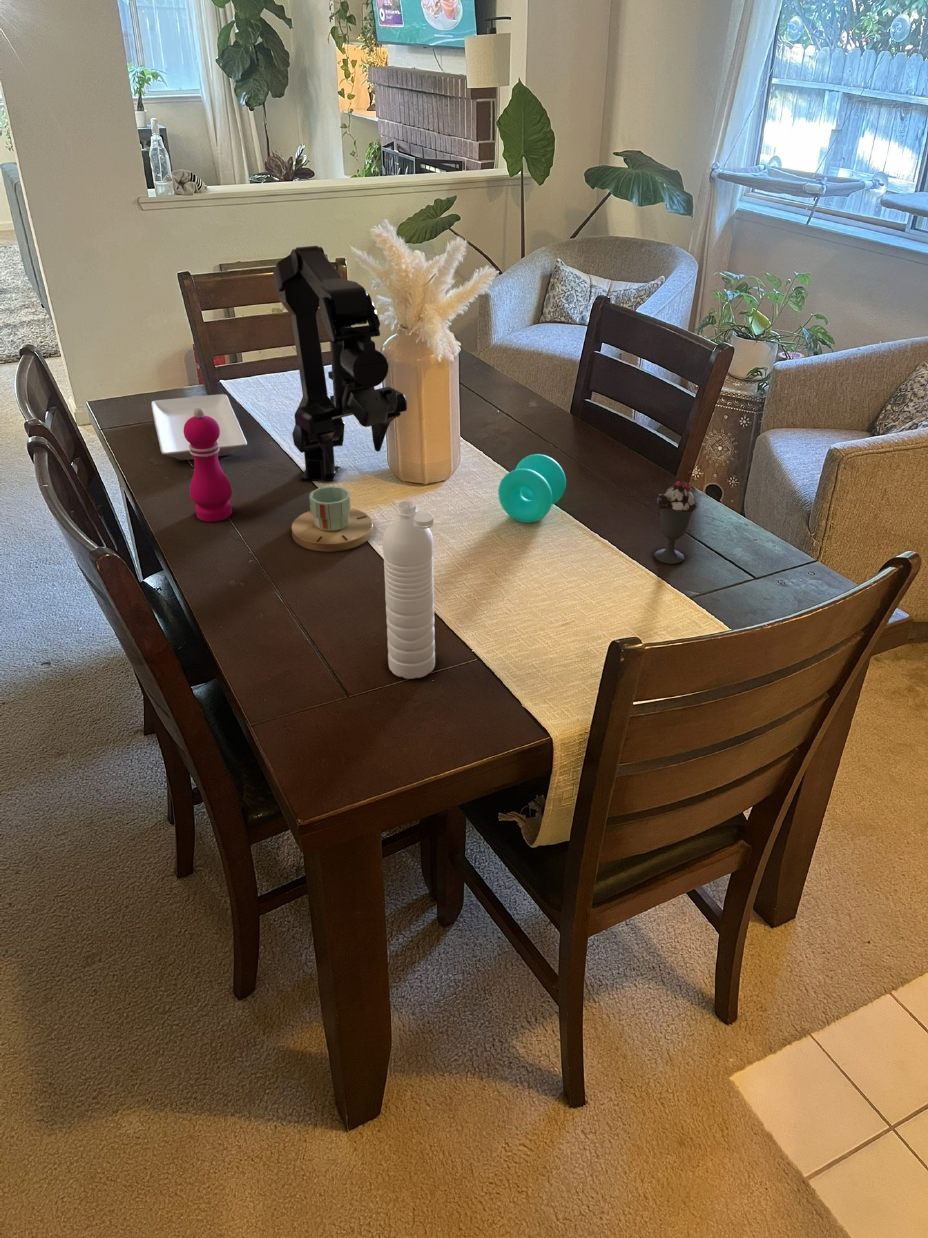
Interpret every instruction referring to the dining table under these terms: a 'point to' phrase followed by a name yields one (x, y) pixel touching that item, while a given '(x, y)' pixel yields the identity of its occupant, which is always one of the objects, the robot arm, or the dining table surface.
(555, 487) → the teal yo-yo
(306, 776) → the dining table surface
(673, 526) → the sundae
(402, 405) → the robot arm
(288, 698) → the dining table surface
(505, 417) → the dining table surface
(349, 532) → the turntable
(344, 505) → the green cup
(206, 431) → the pepper mill
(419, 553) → the water bottle
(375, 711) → the dining table surface
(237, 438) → the tray
